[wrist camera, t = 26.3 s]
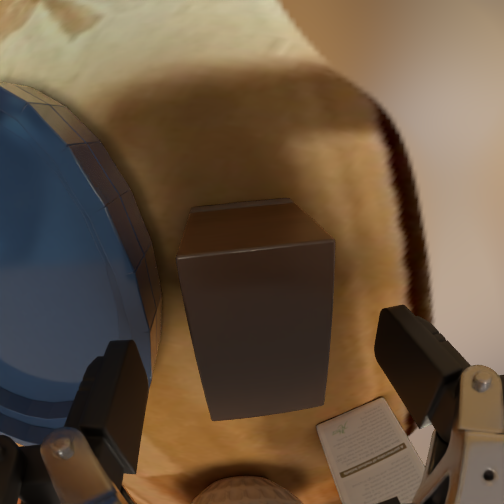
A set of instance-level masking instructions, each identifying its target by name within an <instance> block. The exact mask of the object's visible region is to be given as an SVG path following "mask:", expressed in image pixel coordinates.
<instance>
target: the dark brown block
mask: <svg viewBox="0 0 504 504" xmlns="http://www.w3.org/2000/svg"><path fill="white" fill-rule="evenodd" d="M176 264H177V269H178V275H179V280H180V286H181V291H182V296H183V301H184V306H185V311H186V316H187V321H188V326H189V330H190V335H191V339H192V344H193V348H194V353H195V357H196V361H197V365H198V370H199V374H200V378H201V382H202V386H203V390H204V394H205V398H206V401H207V405H208V409H209V413H210V416H211V420H212V421H221V420H232V419H241V418H250V417H258V416H265V415H272V414H279V413H285V412H291V411H297V410H302V409H308V408H313V407H318V406H322V405H324V400H325V391H326V382H327V373H328V362H329V352H330V340H331V326H332V311H333V293H334V271H335V239H334V238H333V237H332V236H331V235H330V234H328V233H327V232H326V231H325V230H324V229H323V228H322V227H321V226H320V225H319V224H318V223H316V222H315V221H314V220H313V219H312V218H311V217H310V216H309V215H308V214H307V213H305V212H304V211H303V210H302V209H301V208H300V207H299V206H298V205H296V204H295V203H294V202H293V201H292V200H291V199H290V198H282V199H270V200H259V201H248V202H238V203H228V204H219V205H209V206H201V207H192V208H191V211H190V214H189V217H188V220H187V223H186V226H185V229H184V233H183V236H182V239H181V242H180V245H179V248H178V252H177V255H176Z"/></svg>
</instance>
